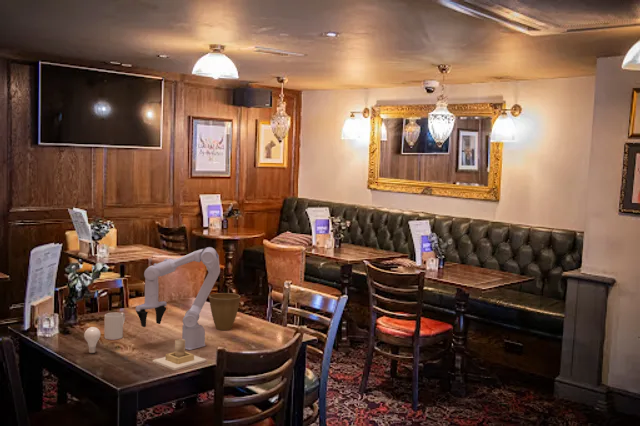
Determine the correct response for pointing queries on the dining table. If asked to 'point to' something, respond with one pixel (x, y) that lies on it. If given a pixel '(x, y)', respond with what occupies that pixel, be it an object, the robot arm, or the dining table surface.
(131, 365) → the dining table surface
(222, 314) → the plant pot
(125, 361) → the dining table surface
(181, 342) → the birch peg
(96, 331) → the lightbulb
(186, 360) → the socket plate
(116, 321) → the mug
